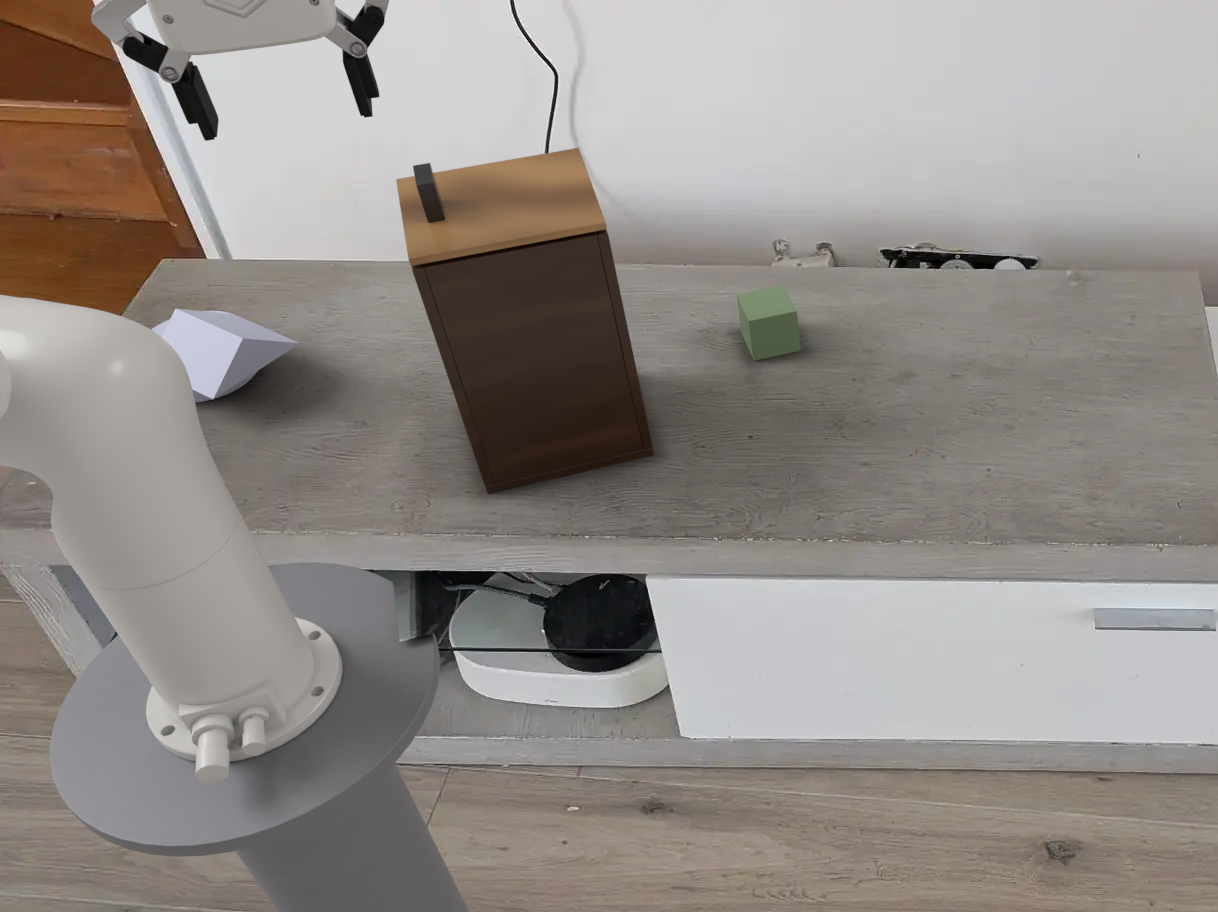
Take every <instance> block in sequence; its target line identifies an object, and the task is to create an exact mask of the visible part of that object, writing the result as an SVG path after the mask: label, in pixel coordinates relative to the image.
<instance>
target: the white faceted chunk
mask: <svg viewBox="0 0 1218 912" xmlns="http://www.w3.org/2000/svg"><path fill="white" fill-rule="evenodd" d="M150 330H152V331H154V332H155V333H157V334H158V335H159V336H161V337H162V338H163V339H164V340H166V341H167V342H168V343H169V344H170V345H171V346H172V347H173V349H174V350H175V351H176V352H177V354H178V355H179V357H180V358H181V360H182V362H183V364H184V366H185V368H186V370H187V373H188V376H189V379H190V382H191V386H192V390H193V395H194V399H195V404H196V403H202V402H207V401H212V400H214V399H218V398H220V397H224V396H227V395H230V394H231V393H233V392H235V391H236V390H237V391H238V389H240V388H241V387H243V386H244V385H246V384H247V383H248V382H249V381H251V380H252V379H253V378H254V377H255V375H256V374H257V373H258V371H259V370H261V369H263V368H264V367H266V366H267V365H269V364H270V363H272V362H273V361H275V360H276V359H279V358H280V357H281V356H283V355H285V354H286V353H287V352H289V351H291V350H292V349H294V348H295V347H297V346H299V345H300V344H301V343H300V342H298V341H296V340H294V339H291V338H289V337H287V336H285V335H282V334H280V333H278V332H275V331H273V330H271V329H268V328H266V327H264V326H262V325H260V324H257V323H255V322H253V321H250V320H248V319H245V318H244V317H241V316H238V315H237V314H234V313H231V312H229V311H228V312H227V311H222V310H192V309H184V308H175V309H174V310H173V313H172V315H171V317H170V318H169V319H167V320H164V321H163V322H161V323H159V324H157V325H156V326H154V327H153V328H151V329H150Z"/></svg>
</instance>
